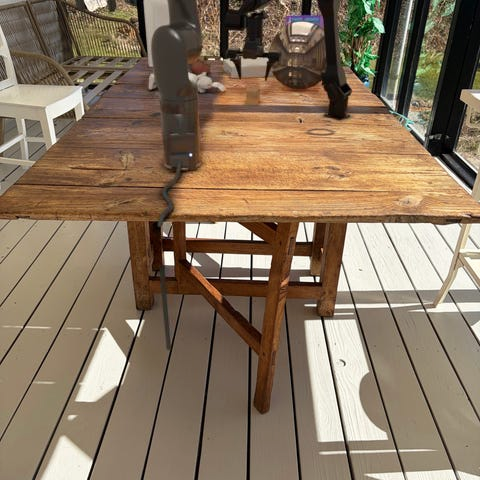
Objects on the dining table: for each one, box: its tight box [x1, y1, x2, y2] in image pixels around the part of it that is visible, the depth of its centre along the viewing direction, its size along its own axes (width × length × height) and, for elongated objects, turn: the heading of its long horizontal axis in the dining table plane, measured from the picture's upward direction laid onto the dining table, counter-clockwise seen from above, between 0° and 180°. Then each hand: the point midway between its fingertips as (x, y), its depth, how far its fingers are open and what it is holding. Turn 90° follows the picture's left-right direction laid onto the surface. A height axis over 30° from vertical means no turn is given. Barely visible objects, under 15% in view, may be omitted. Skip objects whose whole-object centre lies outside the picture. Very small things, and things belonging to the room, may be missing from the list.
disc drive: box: [222, 57, 275, 79], centre depth 214 cm, size 18×22×5 cm
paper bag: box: [143, 0, 169, 68], centre depth 223 cm, size 19×15×28 cm
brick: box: [245, 87, 261, 106], centre depth 172 cm, size 5×4×5 cm
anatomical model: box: [188, 55, 212, 76], centre depth 208 cm, size 13×9×15 cm
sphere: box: [268, 21, 326, 91], centre depth 185 cm, size 25×25×25 cm
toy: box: [148, 71, 227, 94], centre depth 184 cm, size 24×25×7 cm
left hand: (97, 11), depth 126 cm, fingers open, 8 cm apart
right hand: (253, 79), depth 170 cm, fingers open, 9 cm apart
